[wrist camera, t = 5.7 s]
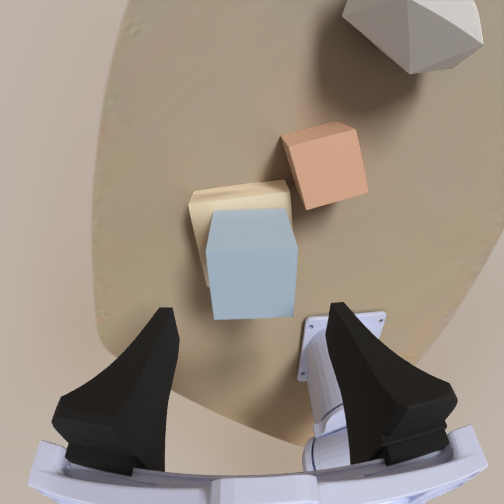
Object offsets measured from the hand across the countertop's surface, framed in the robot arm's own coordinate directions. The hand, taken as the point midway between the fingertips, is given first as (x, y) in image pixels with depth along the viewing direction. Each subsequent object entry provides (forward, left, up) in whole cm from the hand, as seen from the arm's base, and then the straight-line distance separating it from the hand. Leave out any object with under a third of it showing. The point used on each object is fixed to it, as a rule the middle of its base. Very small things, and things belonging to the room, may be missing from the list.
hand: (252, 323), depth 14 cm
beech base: (0, 0, -11) cm, 11 cm away
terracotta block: (+5, -5, -10) cm, 13 cm away
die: (+16, -10, -11) cm, 22 cm away
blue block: (0, 0, -8) cm, 8 cm away
